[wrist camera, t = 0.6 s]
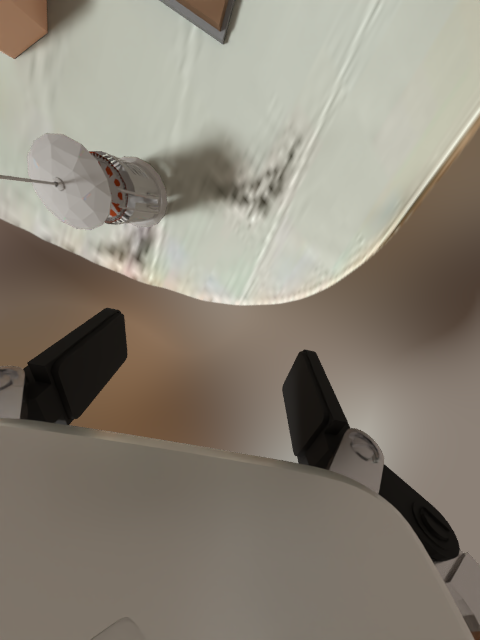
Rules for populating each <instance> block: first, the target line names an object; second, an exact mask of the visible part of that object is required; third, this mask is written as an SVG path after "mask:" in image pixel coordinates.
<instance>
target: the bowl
mask: <svg viewBox="0 0 480 640" xmlns="http://www.w3.org/2000/svg"><path fill="white" fill-rule="evenodd" d="M47 33H48V28H47V0H0V51H1V52H3V53H5V54H6V55H8V56H10V57H12V58H13V59H15V58H16V57H17V56H18V55H20V54H21V53H22V52H24V51H25V50H26V49H27V48H29V47H30V46H31V45H33V44H34V43H35V42H36V41H38V40H39V39H40V38H42V37H43V36H44V35H45V34H47Z"/></svg>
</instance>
